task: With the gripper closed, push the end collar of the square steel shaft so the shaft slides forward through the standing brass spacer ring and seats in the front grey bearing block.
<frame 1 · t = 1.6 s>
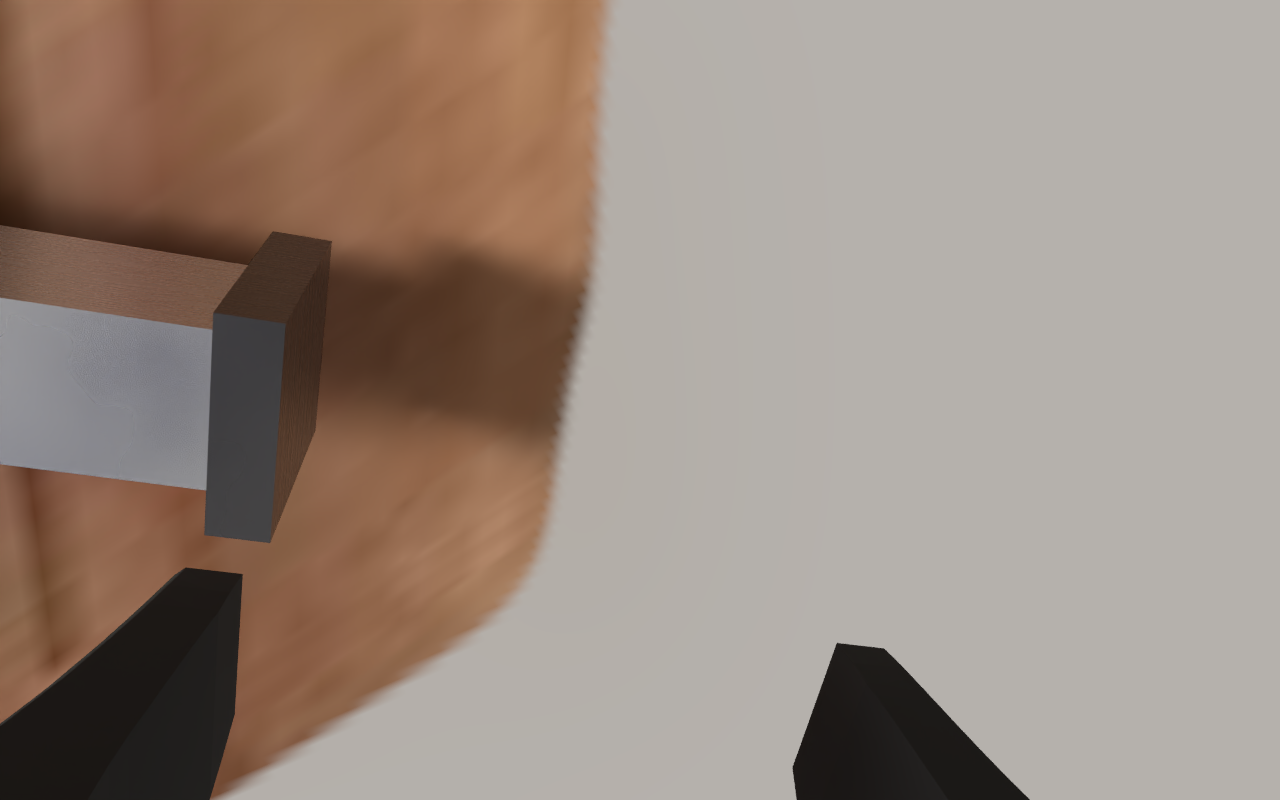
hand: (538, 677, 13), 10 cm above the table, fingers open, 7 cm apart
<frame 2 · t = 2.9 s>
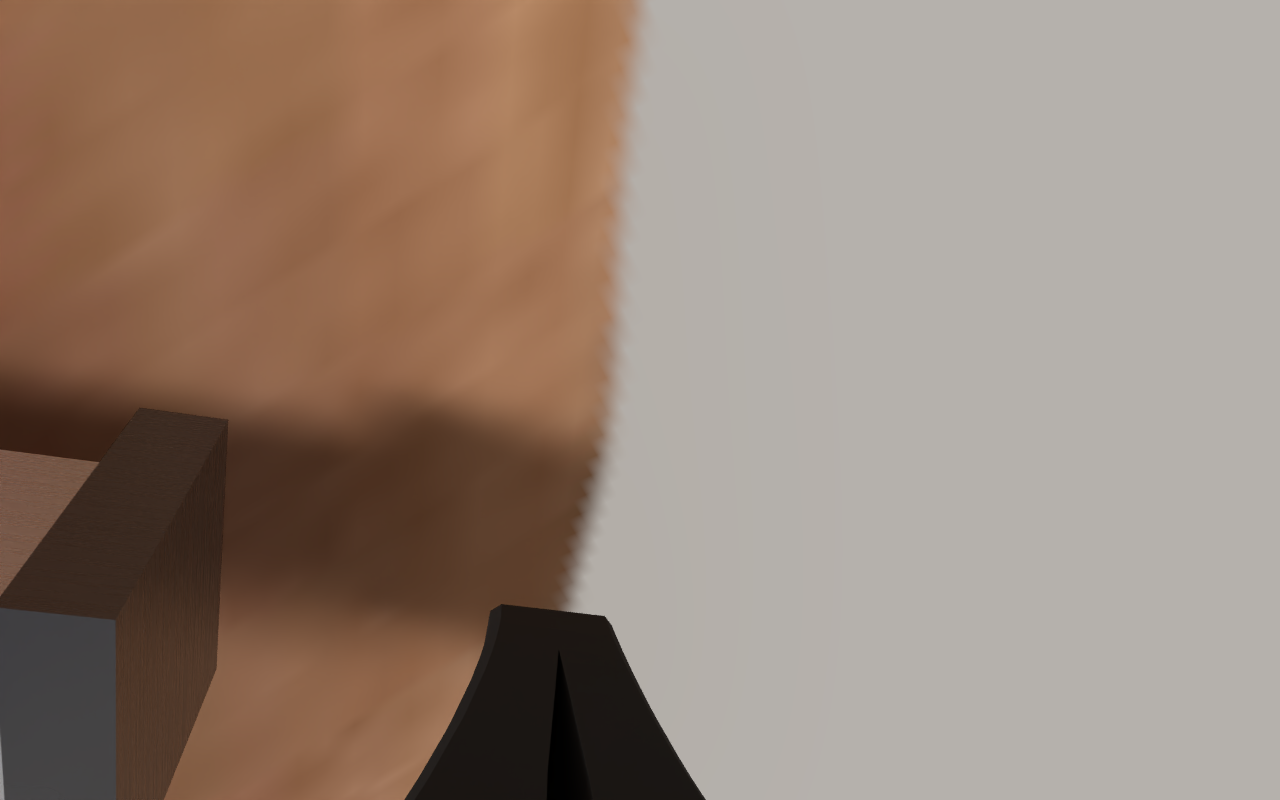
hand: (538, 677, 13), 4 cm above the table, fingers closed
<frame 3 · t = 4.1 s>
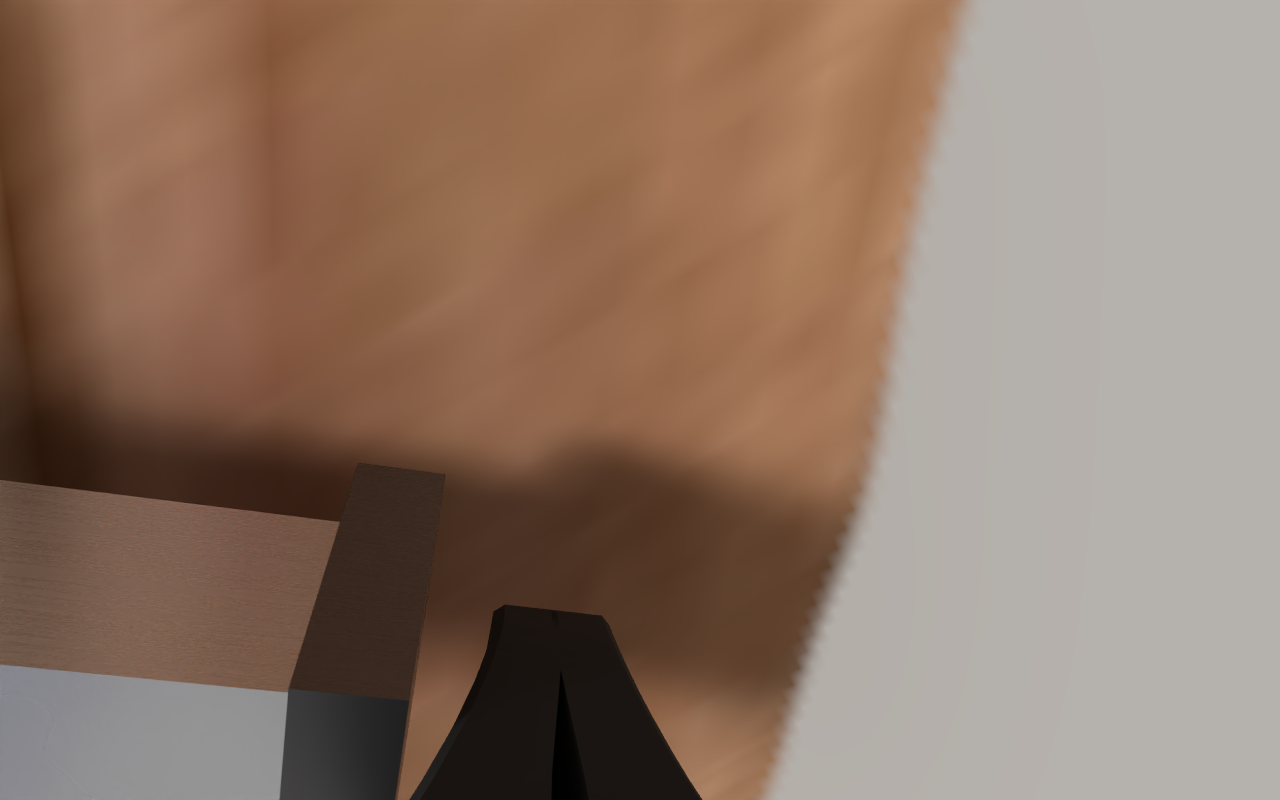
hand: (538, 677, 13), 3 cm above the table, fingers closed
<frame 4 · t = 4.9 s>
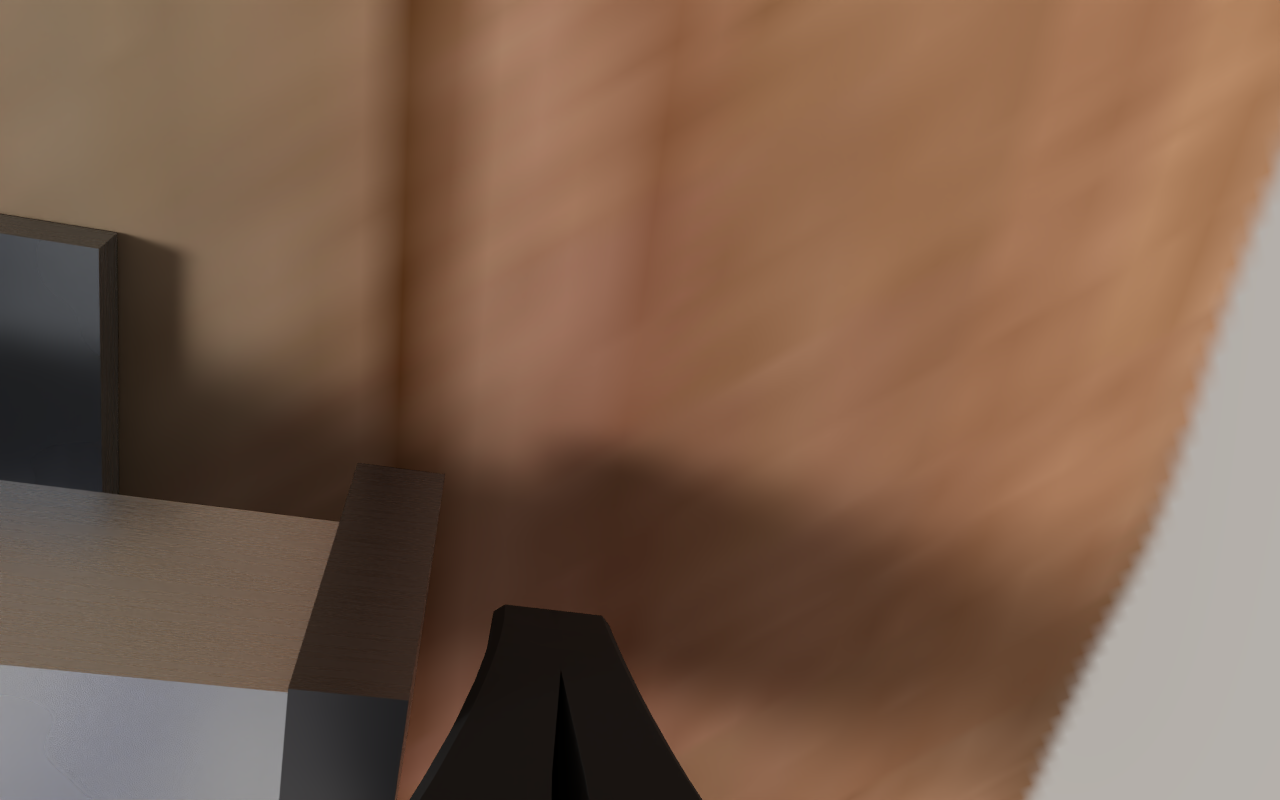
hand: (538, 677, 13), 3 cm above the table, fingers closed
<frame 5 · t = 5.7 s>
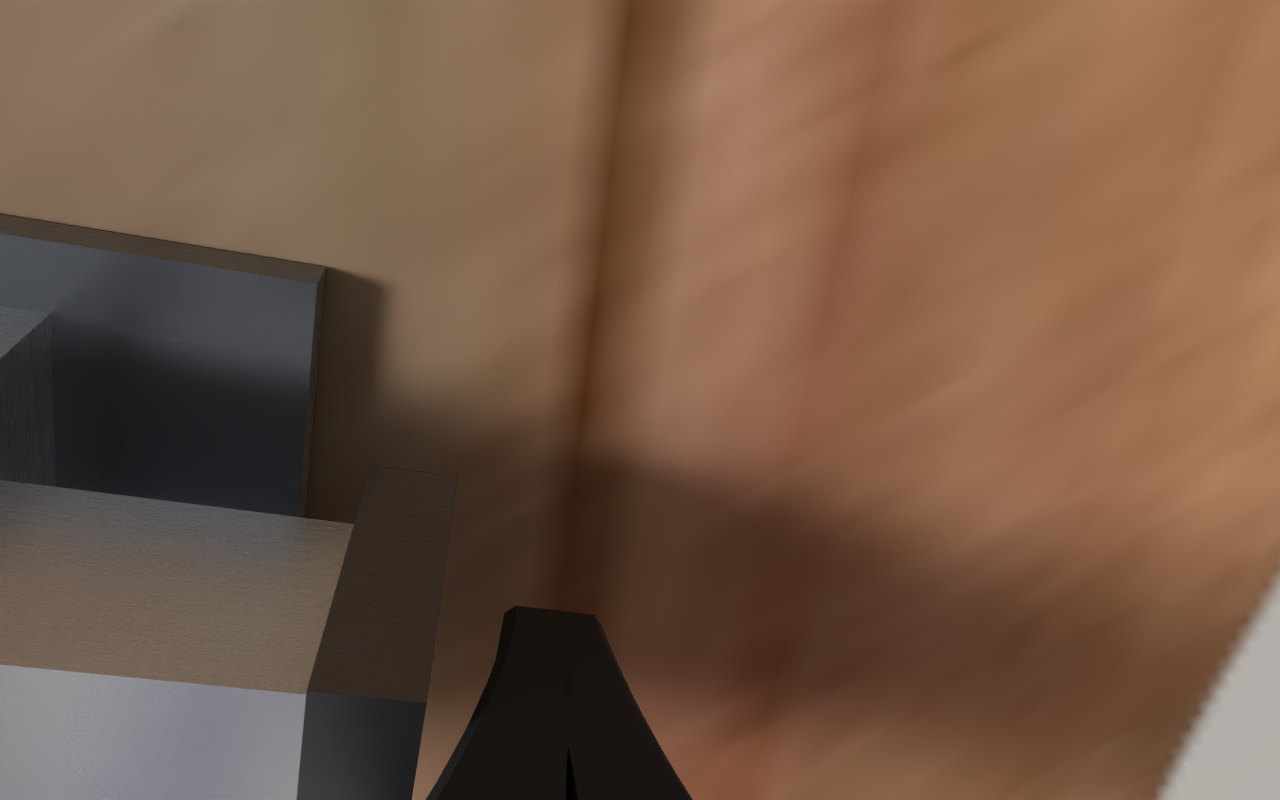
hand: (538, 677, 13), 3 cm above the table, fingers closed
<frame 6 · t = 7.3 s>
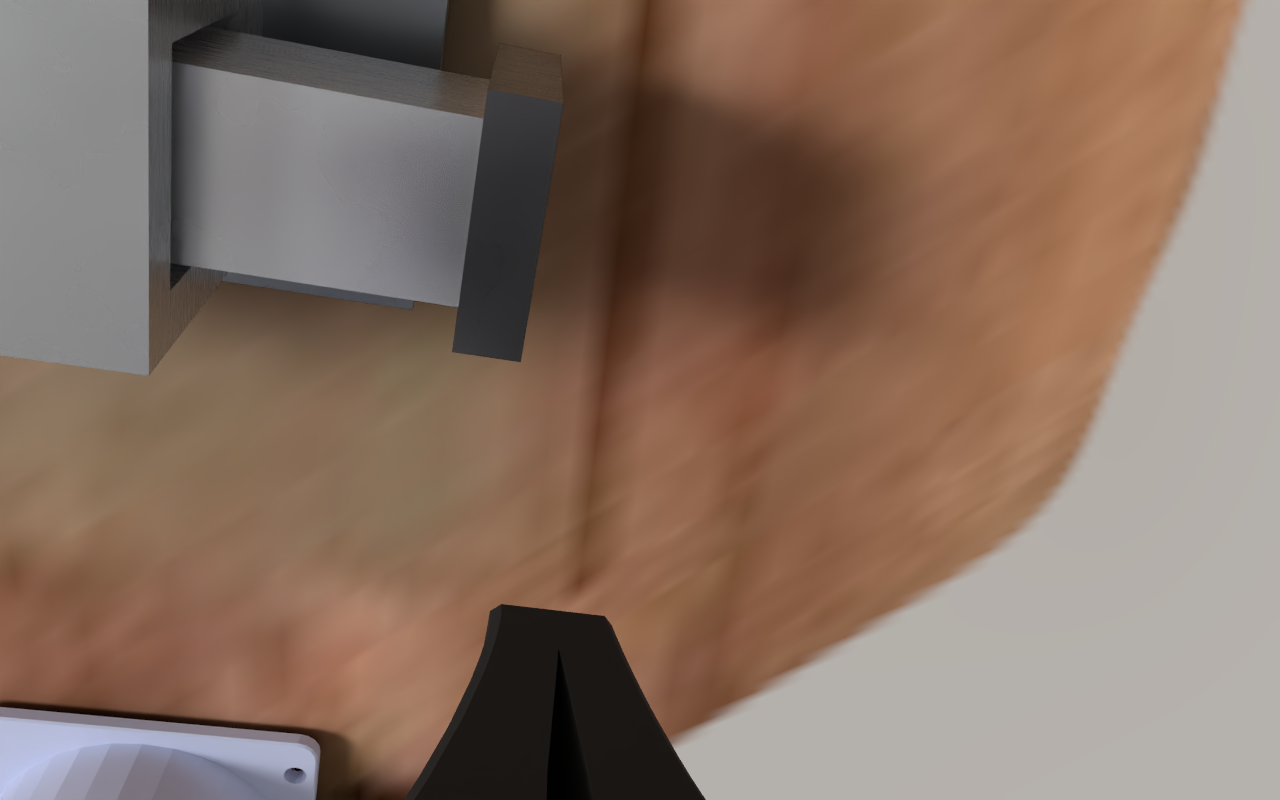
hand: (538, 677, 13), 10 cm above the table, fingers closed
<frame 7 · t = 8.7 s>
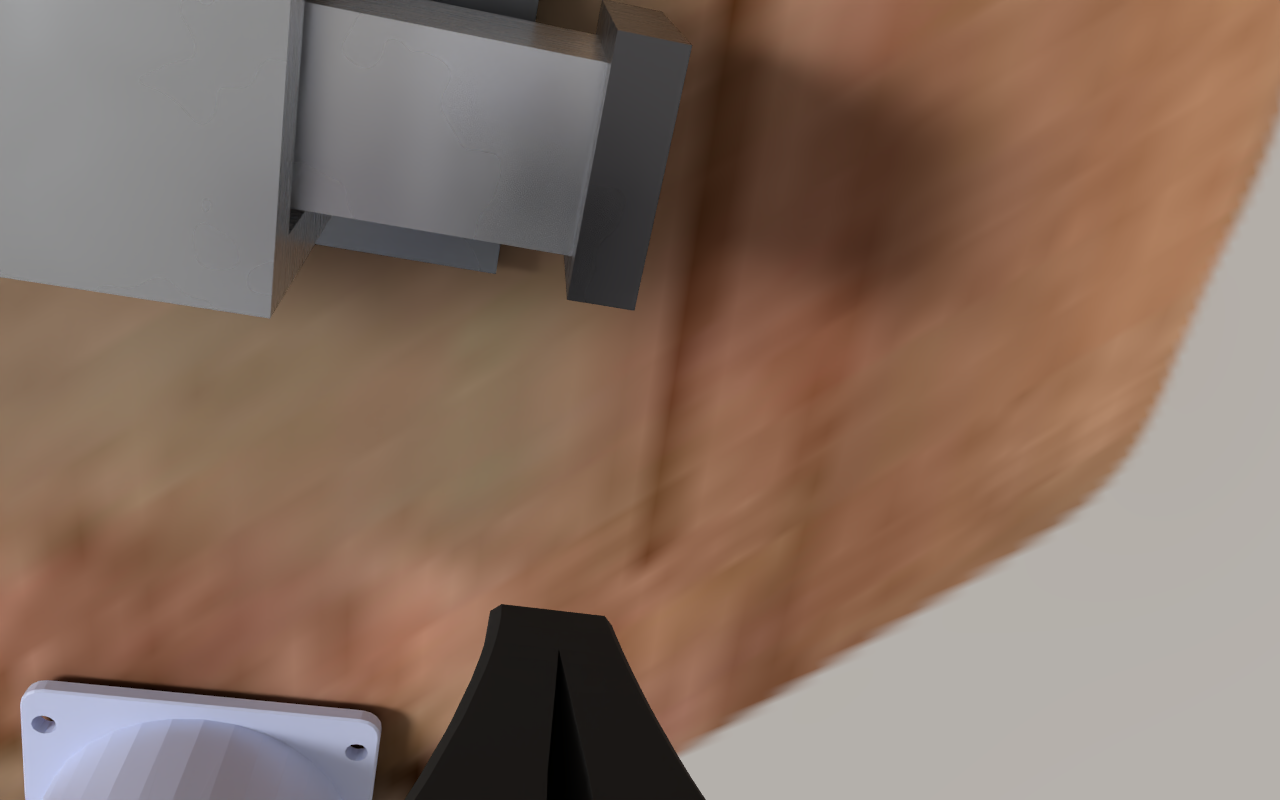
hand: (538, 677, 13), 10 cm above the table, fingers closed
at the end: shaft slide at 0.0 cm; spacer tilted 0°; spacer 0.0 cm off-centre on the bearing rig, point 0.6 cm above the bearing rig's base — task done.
